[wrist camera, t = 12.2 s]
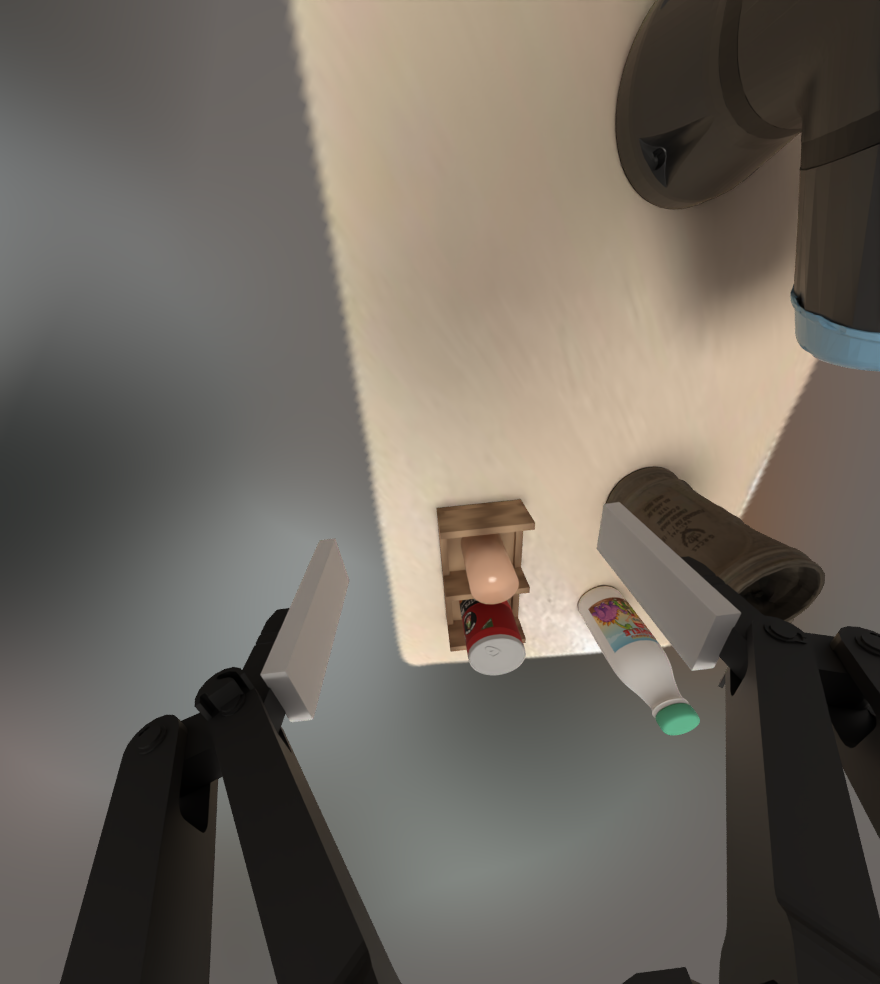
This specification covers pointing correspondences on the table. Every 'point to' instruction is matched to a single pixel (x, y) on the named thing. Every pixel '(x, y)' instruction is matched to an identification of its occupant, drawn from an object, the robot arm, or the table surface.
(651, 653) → the milk bottle
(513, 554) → the rack
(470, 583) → the peach rounded block
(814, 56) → the robot arm
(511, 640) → the canned food
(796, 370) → the table surface
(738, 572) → the beer stein
